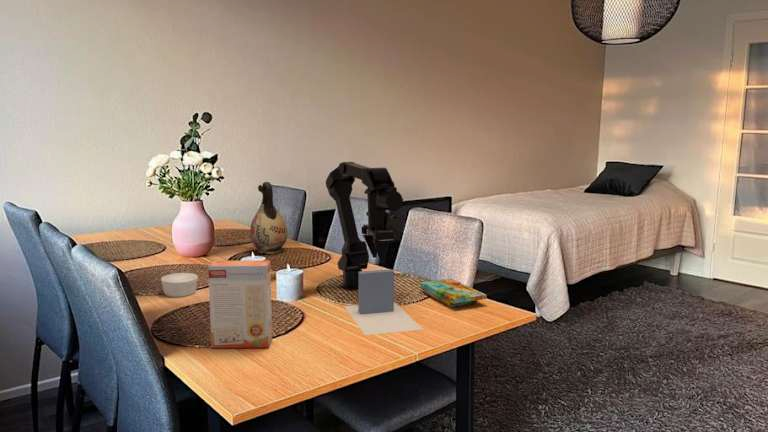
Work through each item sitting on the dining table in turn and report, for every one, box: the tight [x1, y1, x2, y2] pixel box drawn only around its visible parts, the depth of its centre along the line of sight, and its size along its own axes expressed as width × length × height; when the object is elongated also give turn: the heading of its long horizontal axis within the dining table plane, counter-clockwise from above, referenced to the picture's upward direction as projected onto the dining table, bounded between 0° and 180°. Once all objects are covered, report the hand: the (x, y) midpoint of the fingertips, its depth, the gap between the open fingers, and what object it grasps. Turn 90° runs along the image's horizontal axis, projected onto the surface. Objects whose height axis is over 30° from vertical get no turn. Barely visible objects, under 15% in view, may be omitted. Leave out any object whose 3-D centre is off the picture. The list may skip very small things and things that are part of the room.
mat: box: [343, 301, 424, 336], centre depth 163 cm, size 24×16×1 cm, turn 17°
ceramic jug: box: [249, 181, 289, 255], centre depth 238 cm, size 17×15×30 cm
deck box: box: [357, 268, 395, 314], centre depth 167 cm, size 2×10×12 cm, turn 107°
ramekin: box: [160, 272, 199, 298], centre depth 184 cm, size 11×11×5 cm
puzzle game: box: [419, 278, 488, 308], centre depth 181 cm, size 12×5×20 cm
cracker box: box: [207, 260, 273, 349], centre depth 141 cm, size 14×6×21 cm, turn 92°
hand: (378, 259), depth 177 cm, fingers open, 9 cm apart
